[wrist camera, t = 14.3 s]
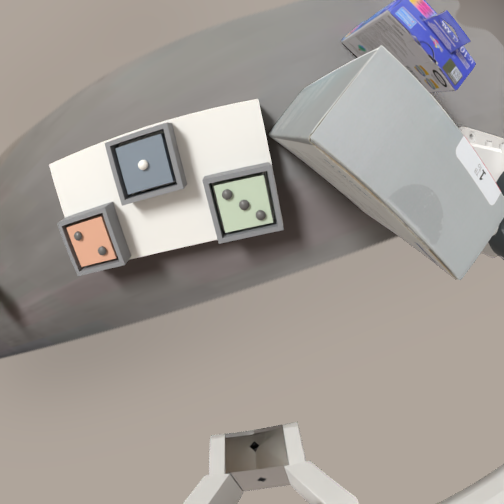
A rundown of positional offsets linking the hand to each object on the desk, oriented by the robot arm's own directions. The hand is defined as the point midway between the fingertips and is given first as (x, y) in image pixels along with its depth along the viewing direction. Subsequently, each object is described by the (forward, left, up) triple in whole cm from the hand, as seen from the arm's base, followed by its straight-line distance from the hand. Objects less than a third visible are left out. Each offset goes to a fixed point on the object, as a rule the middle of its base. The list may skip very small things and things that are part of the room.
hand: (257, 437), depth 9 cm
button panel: (+8, -5, -29) cm, 31 cm away
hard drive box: (-13, -5, -29) cm, 32 cm away
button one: (+8, -8, -26) cm, 28 cm away
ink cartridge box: (-21, -16, -29) cm, 39 cm away
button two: (+17, -2, -26) cm, 31 cm away
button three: (-1, -2, -26) cm, 26 cm away
